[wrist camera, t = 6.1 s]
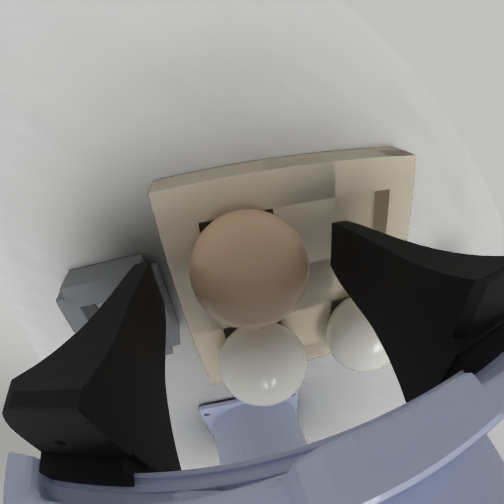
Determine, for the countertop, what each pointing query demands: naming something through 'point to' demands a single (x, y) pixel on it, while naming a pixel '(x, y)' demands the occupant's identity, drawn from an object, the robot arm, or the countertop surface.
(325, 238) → the carton
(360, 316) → the white egg
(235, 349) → the white egg
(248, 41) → the countertop surface
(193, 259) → the brown egg
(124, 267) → the egg stand
